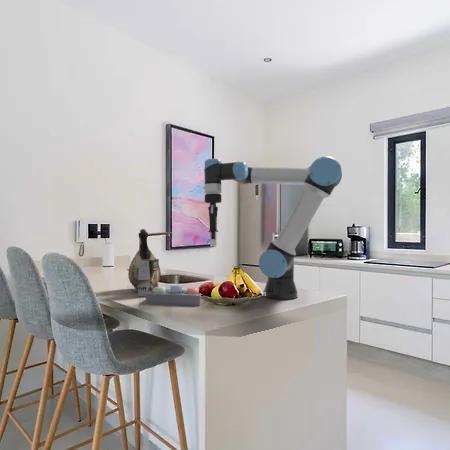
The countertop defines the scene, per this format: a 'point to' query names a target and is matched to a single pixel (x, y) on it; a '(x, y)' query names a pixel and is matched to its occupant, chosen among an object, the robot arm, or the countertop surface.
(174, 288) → the button slate
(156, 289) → the button sage
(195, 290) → the button coral
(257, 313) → the countertop surface
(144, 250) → the ceramic jug
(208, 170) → the robot arm
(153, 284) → the coffee box
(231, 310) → the countertop surface
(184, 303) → the panel
